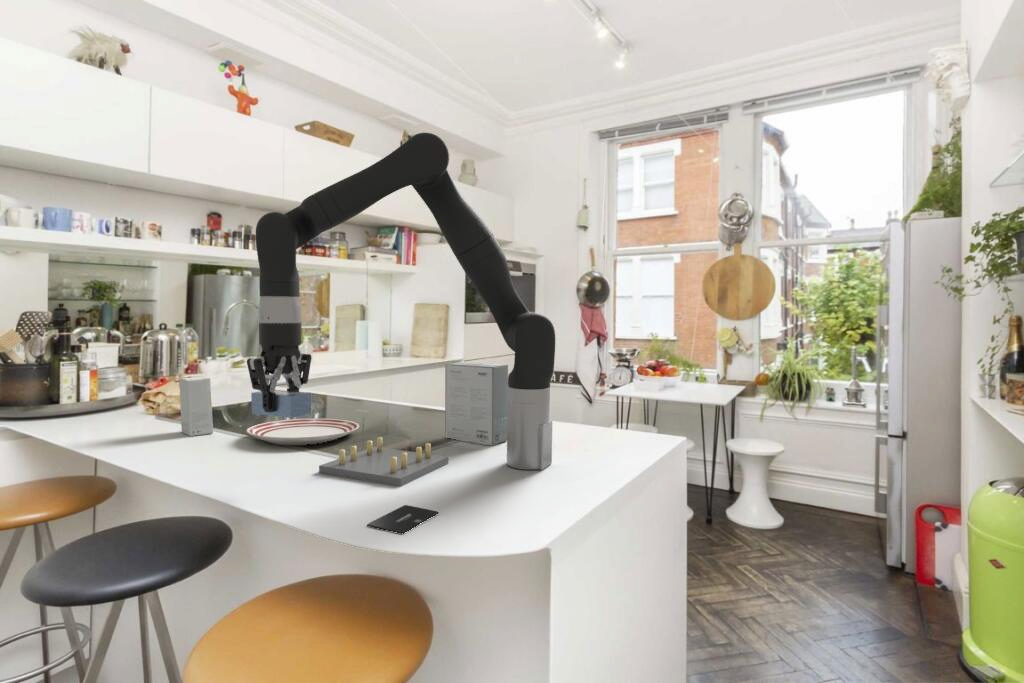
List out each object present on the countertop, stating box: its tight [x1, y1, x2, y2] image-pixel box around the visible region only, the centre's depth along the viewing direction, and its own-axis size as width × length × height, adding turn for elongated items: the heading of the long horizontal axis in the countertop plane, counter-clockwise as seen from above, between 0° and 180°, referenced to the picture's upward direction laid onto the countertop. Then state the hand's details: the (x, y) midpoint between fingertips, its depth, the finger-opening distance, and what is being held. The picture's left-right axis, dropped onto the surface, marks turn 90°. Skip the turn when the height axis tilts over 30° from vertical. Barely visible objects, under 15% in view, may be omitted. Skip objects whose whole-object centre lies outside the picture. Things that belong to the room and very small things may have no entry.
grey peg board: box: [318, 437, 449, 487], centre depth 118 cm, size 20×18×4 cm
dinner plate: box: [246, 418, 360, 446], centre depth 145 cm, size 28×27×3 cm
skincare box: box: [178, 376, 214, 437], centre depth 148 cm, size 8×6×15 cm
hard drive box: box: [444, 362, 509, 446], centre depth 145 cm, size 16×8×20 cm, turn 58°
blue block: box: [250, 389, 312, 419], centre depth 106 cm, size 10×5×4 cm, turn 66°
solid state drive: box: [366, 504, 440, 535], centre depth 89 cm, size 7×10×1 cm
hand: (281, 409), depth 106 cm, fingers closed on blue block, 5 cm apart
